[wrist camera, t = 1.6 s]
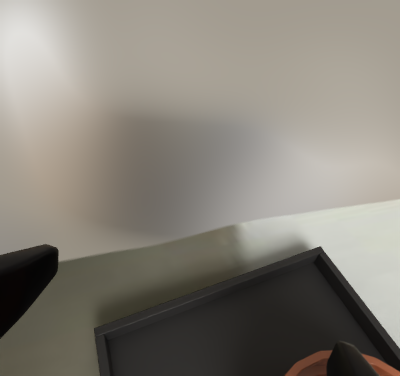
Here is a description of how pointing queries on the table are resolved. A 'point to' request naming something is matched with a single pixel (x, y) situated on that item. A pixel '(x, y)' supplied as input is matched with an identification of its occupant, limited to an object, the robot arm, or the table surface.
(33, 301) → the robot arm
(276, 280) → the tray
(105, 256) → the table surface
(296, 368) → the bowl
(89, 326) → the table surface
